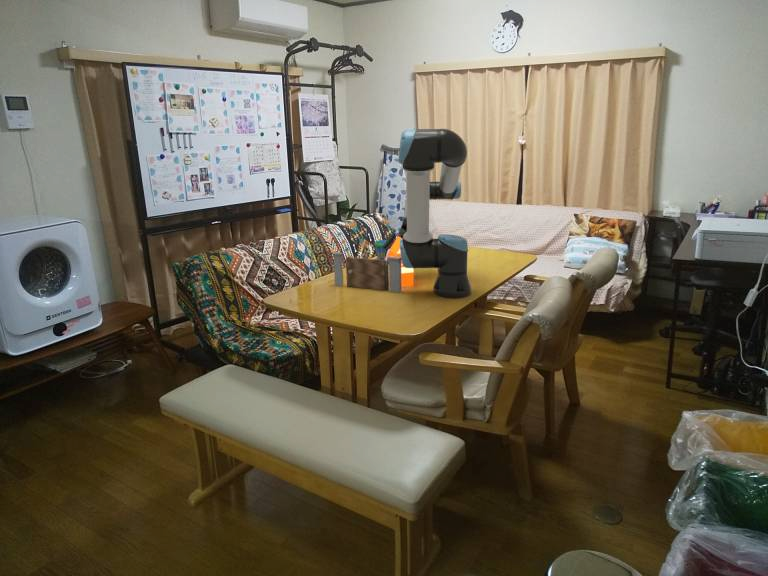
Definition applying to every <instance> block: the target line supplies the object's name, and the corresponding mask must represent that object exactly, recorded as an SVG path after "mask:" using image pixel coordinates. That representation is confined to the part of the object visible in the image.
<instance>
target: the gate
mask: <svg viewBox="0 0 768 576" xmlns="http://www.w3.org/2000/svg"><path fill="white" fill-rule="evenodd" d="M345 266H346V267H345V268H346V270H345V271H346V286H347V287H353V288H361V289H362V288H364V289H373V290H380V291H390V289H389V263H388V261H387V260H377V259H374V258H365V257H354V256H353V257H351V256H346V257H345Z"/></svg>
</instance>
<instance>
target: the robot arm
mask: <svg viewBox="0 0 768 576" xmlns="http://www.w3.org/2000/svg"><path fill="white" fill-rule="evenodd" d="M398 151H399V153H398V160H397V161H398V163H399V165H401V166H402V169H403V171H404V172H406V211H405V214H404V216H403V220H402V223H401V226H400V229H399V230H396V229H392V233H391V234H390V236H389V237H387V238H388V239H386V240H387V241H386V243H385V244H384V245H383V248H384V249H385V250H386V252H385V257H386V258H385V260H387V258H388V257H390V249H391V247H392V245H393V244H394V242H395V241H396V239H397V237H400V238H402V239H400V253H401V260H402V264H403V266H404V267H405V268H413V269H414V270H415V269H437V276H436V278H435V281H434V284H433V290H432V291H433V292H432V293H433V295H435V296H437V297H440V298H444V299H445V298H447V299H460V298H461V299H462V298H466V297H468V296H470V295H471V294H472V285H471V283H470V280H469V277H468V252H469V249H468V247H469V246H468V244H469V243H468V240H467V239H466V238H464V237H462V236H459V235H455V234H450V233H449V234H448V233H447V234H442V233H441V234H438V236H437V238H433V237H434V236H433V234H432V232H430V200H450V201H451V200H459V199H460V198H461V195H462V183H461V182H460V181H459V180H460V175H461V170H462V166H463V165H464V164H465V162H466V160H467V156H468V149H467V145H466V143H465V141H464V140H463V139H462V137H461V136H460V135H459V134H458V133H456V132H455V131H453V130H450V129H447V128H423V129H422V128H417V129H416V128H413V129H405V130H403V131H402V132H401V135H400V143H399V149H398ZM437 163H441V170H440V175H439V176H440V177H439V181H430V180H431V177H430V176H431V175H430V174H431V172H432V171H433V170H434V169H435V164H437ZM388 262H389V261H388Z"/></svg>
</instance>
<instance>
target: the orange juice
mask: <svg viewBox="0 0 768 576" xmlns="http://www.w3.org/2000/svg"><path fill="white" fill-rule="evenodd" d="M396 238H397V239H396ZM396 238H395V239H396V241H395V242H394V244H393V245H392V247H391V249H390V257H401V253H400V239H402V238H400V237H397V236H396ZM414 270H415V269H413V268H405V267H404V266H403V264H402V260H401V288H405V286H407V287H413V286H414ZM412 285H413V286H412Z"/></svg>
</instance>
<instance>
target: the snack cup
mask: <svg viewBox="0 0 768 576" xmlns="http://www.w3.org/2000/svg"><path fill="white" fill-rule="evenodd" d="M387 240H388V239H381V240H380V239H379V240H376V241H374V243H373V245H374V249H375V250H374V251H375V253H376V258H377V260H385V258H386V257H385V252H386V250H385V249H384V248H383V245H384V244H385V243H386V241H387ZM388 264H389V262H388Z"/></svg>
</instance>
